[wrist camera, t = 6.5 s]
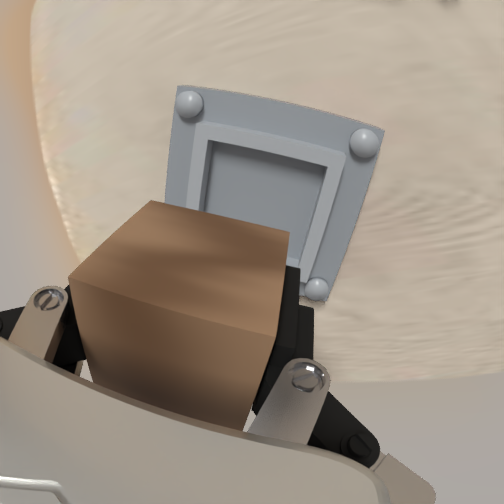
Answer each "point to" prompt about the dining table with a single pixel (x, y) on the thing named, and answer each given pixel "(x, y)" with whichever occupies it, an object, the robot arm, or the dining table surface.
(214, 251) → the walnut cube
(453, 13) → the dining table surface
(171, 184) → the base plate
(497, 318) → the dining table surface
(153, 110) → the dining table surface
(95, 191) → the dining table surface
